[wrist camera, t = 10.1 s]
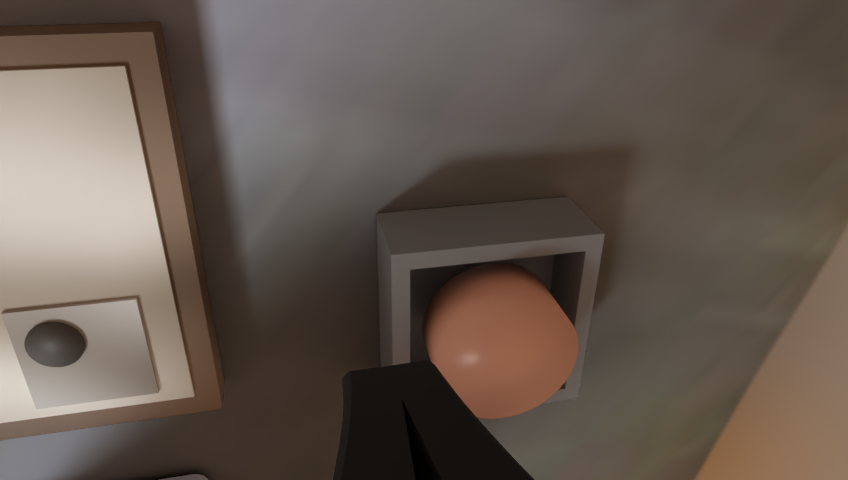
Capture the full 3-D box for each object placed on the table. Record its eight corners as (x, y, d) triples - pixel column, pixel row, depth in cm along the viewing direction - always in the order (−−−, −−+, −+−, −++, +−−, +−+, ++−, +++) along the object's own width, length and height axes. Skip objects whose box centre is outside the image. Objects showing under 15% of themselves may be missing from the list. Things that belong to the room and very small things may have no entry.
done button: (543, 364, 21) (569, 407, 19) (421, 381, 20) (436, 428, 18) (556, 256, 19) (587, 293, 17) (422, 270, 18) (440, 310, 16)
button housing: (548, 350, 23) (578, 398, 21) (380, 373, 22) (393, 427, 19) (568, 196, 20) (605, 233, 18) (376, 213, 19) (391, 255, 17)
